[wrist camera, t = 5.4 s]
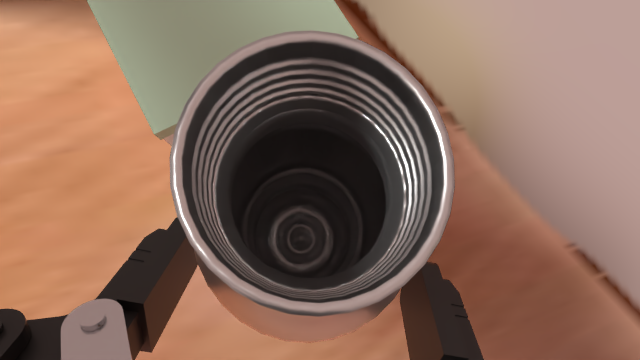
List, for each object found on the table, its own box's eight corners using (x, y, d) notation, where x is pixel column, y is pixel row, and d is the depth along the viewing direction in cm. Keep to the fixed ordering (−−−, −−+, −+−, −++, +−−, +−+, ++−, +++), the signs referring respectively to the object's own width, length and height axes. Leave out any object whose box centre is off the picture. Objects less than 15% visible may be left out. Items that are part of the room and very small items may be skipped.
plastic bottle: (333, 185, 24) (469, -86, 5) (355, 276, 23) (659, 383, 4) (248, 203, 24) (27, -35, 4) (265, 298, 22) (48, 574, 3)
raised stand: (134, 45, 26) (64, -44, 18) (273, -14, 28) (264, -116, 20) (200, 173, 24) (154, 134, 16) (345, 99, 26) (366, 33, 18)
